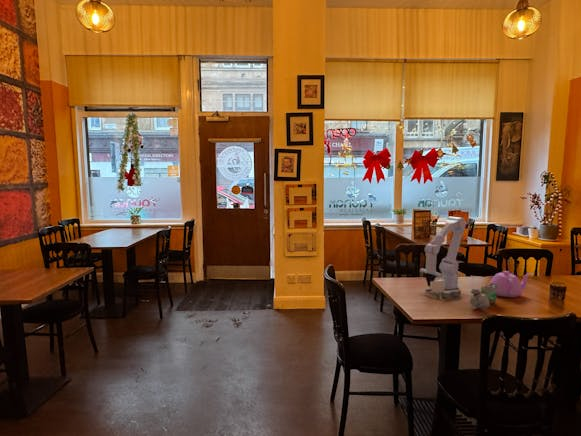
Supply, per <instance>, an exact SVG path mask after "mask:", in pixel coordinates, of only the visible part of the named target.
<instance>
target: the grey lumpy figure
mask: <svg viewBox="0 0 581 436" xmlns="http://www.w3.org/2000/svg"><path fill="white" fill-rule="evenodd" d="M470 294H471V296H470V300H469V304H470V305H471V306H472V307H474V308H477V309H479V310H485V309H487V308H489V307H490V306H491V305H490V304H489V299H488V297H487V296H486V295H485V294H482V290H481V289H479V288H477V287H476V288H472V289H471V290H470Z"/></svg>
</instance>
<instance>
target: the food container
mask: <svg viewBox="0 0 581 436" xmlns="http://www.w3.org/2000/svg"><path fill="white" fill-rule="evenodd" d="M480 291H481V292H482V294H485V295H486V296H487V297H488V299H489V304H490V306H494V305H495V306H496V302H497V296H498V295H497V291H499V288H498V285H496V284H493V283H491V285H489V284H488V285H485V286H481V288H480Z"/></svg>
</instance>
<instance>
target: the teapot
mask: <svg viewBox="0 0 581 436" xmlns="http://www.w3.org/2000/svg"><path fill="white" fill-rule="evenodd" d="M531 275H532V273H526V274H524V275H523V278H522V281H521V282H520V280H519V278H518V276H516V275H515V274H512V273H511V272H510V271H508V270H503V271H501V272H498V273H495V275H494V276H493V277H492V278H491V280H490V281H489V284H488V285H491V283H493V284H496V285H498V288H499V291H497V296H499V297H503V298H504V297H505V298H516V297H519V296H520V295H521V294H522V293H523V290H525V288H526V287H527V284H528V278H529V276H531Z"/></svg>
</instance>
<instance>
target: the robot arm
mask: <svg viewBox="0 0 581 436" xmlns="http://www.w3.org/2000/svg"><path fill="white" fill-rule="evenodd" d="M466 225H467V222H466V219H465V218H464V217H459V216H451V215H450V216H447V218H446V219H445V225H444V226H443V228H441V229H442V230H441V231H440V233H438V234H436V235H434V237H433V238H432V240H431V241H430V242H429V243H427V244H426V245H425V246H424V250H423V251H424V252H425V268H420V269H419V272H420V273H424V274H423V276H424V277H425V280H426V284H427V287H429V288H430V281H435V280H436V278H437V277H438V278H441V280H445V284H444V290H447V291H450V290H455V289H459V285H458V284H459V276H458V274H457V273H458V271H459V264H460V263H459V262H458V260H457V255H458V252H459V248H460V245H461V241H462V238H463V235H464V232H465V229H466ZM451 231H452V237H451V239H450V243H449V246H448V251H447V254H446V256H445V257H444V258H442V259H441V262H440V264H439V267H438V268H439V271H440V272H438V271H437V258H438V257H437V256H438V253H440V250H441V246H442V245H443V243H444V242H445V241H446V240H445V239H446V236H447V235H448V234H449V233H450V232H451Z"/></svg>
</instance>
